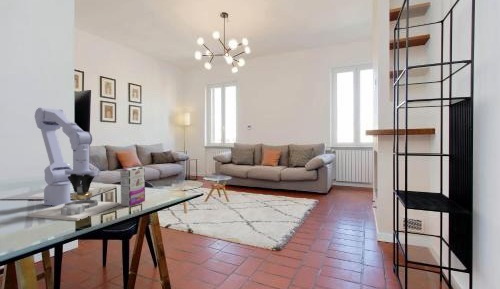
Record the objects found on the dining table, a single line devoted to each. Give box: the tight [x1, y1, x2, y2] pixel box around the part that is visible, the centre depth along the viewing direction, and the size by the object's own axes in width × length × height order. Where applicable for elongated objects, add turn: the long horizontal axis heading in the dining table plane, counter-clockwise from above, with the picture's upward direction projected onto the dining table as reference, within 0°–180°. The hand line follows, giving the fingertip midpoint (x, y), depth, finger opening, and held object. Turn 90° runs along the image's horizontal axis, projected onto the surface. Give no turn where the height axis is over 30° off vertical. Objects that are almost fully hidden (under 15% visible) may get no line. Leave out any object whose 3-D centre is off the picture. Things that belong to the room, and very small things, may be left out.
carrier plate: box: [27, 199, 120, 222], centre depth 105 cm, size 22×22×4 cm
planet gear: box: [71, 184, 93, 201], centre depth 108 cm, size 7×7×5 cm
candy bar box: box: [119, 166, 146, 207], centre depth 116 cm, size 11×5×16 cm, turn 168°
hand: (81, 192), depth 108 cm, fingers closed on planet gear, 4 cm apart
